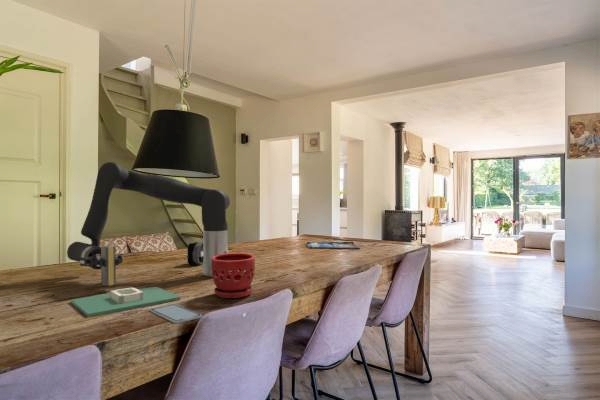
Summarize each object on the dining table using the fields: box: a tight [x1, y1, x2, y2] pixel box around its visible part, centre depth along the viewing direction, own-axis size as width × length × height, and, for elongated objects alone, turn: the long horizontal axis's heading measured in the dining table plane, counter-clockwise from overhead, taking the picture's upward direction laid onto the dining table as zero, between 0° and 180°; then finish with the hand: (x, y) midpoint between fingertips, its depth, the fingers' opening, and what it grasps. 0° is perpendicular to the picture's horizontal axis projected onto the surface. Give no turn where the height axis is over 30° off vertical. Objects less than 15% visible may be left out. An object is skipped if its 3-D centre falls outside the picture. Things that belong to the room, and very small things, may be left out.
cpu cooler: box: [186, 241, 203, 266], centre depth 168 cm, size 10×6×10 cm, turn 168°
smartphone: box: [149, 303, 203, 324], centre depth 94 cm, size 7×1×15 cm
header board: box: [70, 286, 181, 318], centre depth 106 cm, size 24×18×3 cm
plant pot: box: [211, 252, 256, 299], centre depth 113 cm, size 13×13×12 cm
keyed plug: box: [100, 244, 117, 287], centre depth 118 cm, size 3×5×12 cm, turn 43°
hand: (111, 262), depth 116 cm, fingers closed on keyed plug, 3 cm apart
